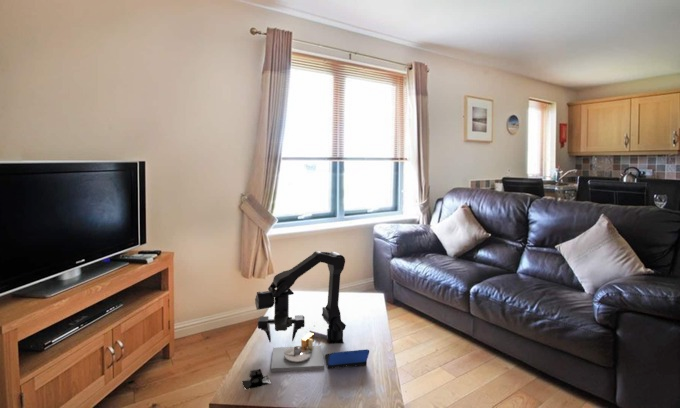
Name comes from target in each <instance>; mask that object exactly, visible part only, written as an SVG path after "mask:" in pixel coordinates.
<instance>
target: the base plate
mask: <svg viewBox="0 0 680 408" xmlns="http://www.w3.org/2000/svg"><path fill="white" fill-rule="evenodd" d="M313 343H314V342H313V339H308V347H307V348H308V349H309V350H310V352H311V356H310V358H309V359H308V360H307V361H304V362H301V363H292V362H289V361H287V360H286V359H285V357H284V353H285V351H286V350H287V349H288V348H290V347H291V346H284V347H283V346H281V347H272V357H271V363H270V364H271V367H270V372H271V373H278V372H280V373H281V372H300V371H317V370H325V364H324V362H325V361H324V357H323V350H322V345H314V344H313Z"/></svg>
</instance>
